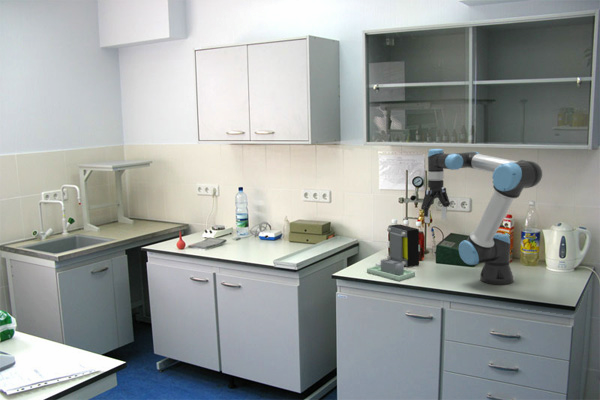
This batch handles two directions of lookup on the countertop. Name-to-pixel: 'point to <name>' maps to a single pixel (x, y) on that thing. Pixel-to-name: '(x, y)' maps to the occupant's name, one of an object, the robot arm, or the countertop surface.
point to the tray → (377, 271)
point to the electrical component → (403, 244)
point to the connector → (391, 267)
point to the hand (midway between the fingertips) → (435, 221)
